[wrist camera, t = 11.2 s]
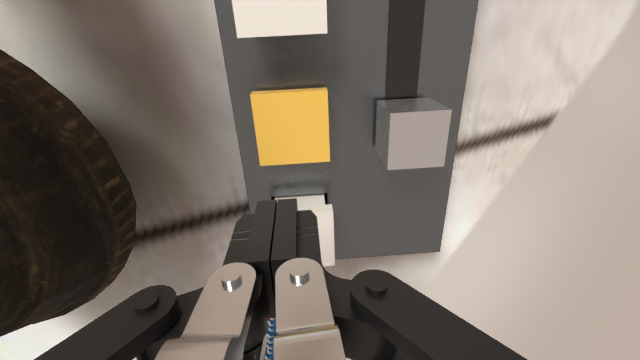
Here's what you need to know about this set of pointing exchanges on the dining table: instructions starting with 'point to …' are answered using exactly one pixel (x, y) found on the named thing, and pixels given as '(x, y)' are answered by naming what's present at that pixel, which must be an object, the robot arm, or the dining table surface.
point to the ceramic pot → (55, 203)
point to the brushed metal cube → (412, 133)
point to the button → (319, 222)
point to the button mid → (291, 125)
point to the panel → (359, 113)
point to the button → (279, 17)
